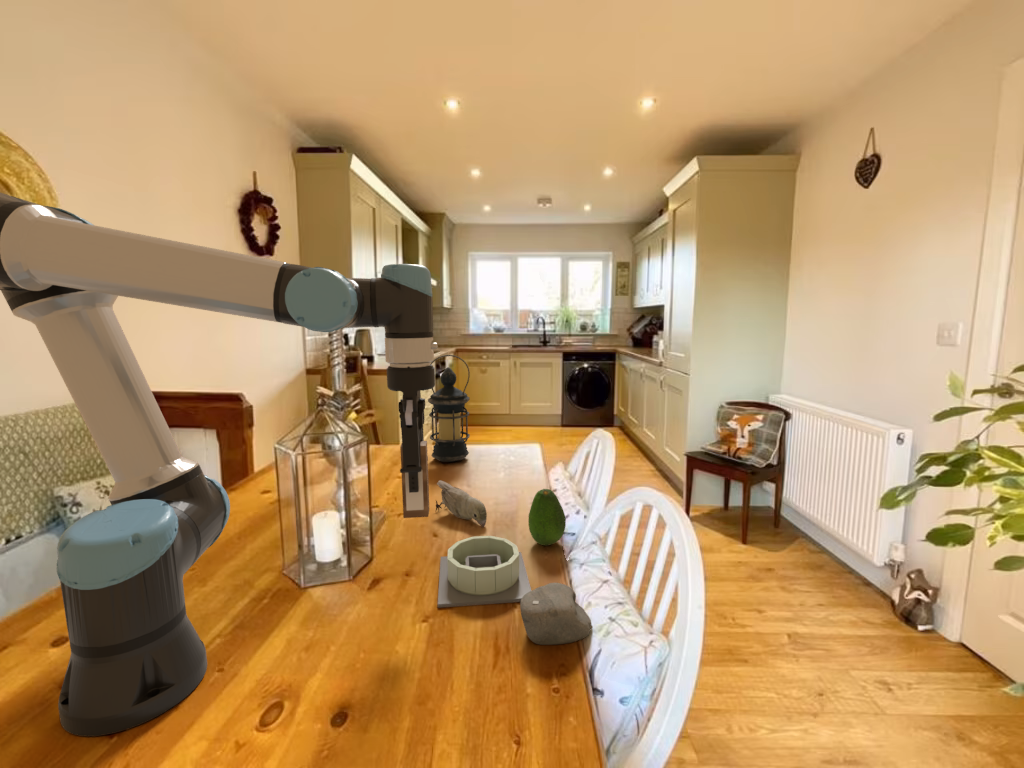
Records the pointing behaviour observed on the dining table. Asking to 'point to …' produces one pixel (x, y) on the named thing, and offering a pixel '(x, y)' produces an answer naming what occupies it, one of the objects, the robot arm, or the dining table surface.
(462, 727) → the dining table surface
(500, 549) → the square base green ring
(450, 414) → the lantern
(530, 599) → the stone
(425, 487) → the wooden rectangular beam
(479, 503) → the decorative bird
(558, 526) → the fruit
